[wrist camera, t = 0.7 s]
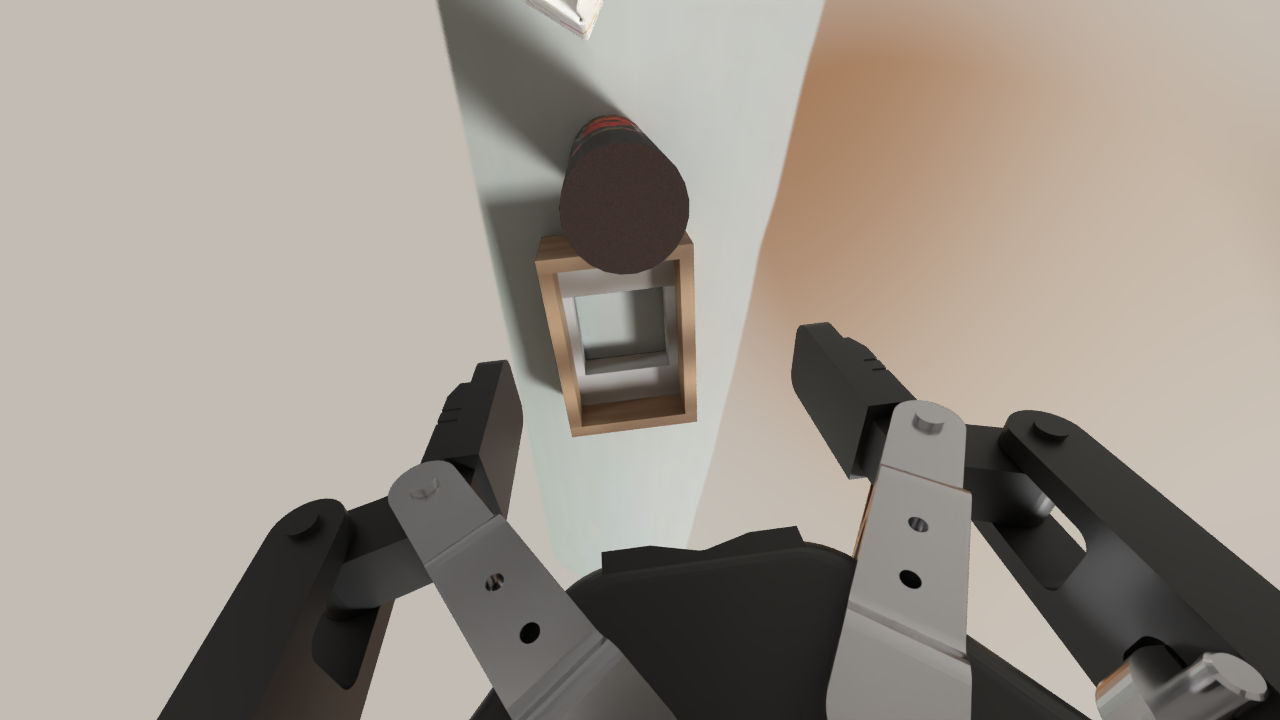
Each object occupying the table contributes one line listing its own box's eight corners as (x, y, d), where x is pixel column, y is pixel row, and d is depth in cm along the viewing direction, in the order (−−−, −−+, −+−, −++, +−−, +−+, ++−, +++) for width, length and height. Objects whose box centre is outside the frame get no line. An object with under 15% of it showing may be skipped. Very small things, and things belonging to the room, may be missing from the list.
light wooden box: (541, 237, 36) (534, 261, 31) (680, 222, 36) (693, 243, 32) (574, 399, 44) (572, 437, 40) (685, 385, 45) (696, 421, 40)
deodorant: (561, 187, 34) (544, 253, 21) (584, 101, 31) (580, 119, 19) (635, 213, 36) (661, 289, 23) (663, 133, 33) (710, 170, 20)
